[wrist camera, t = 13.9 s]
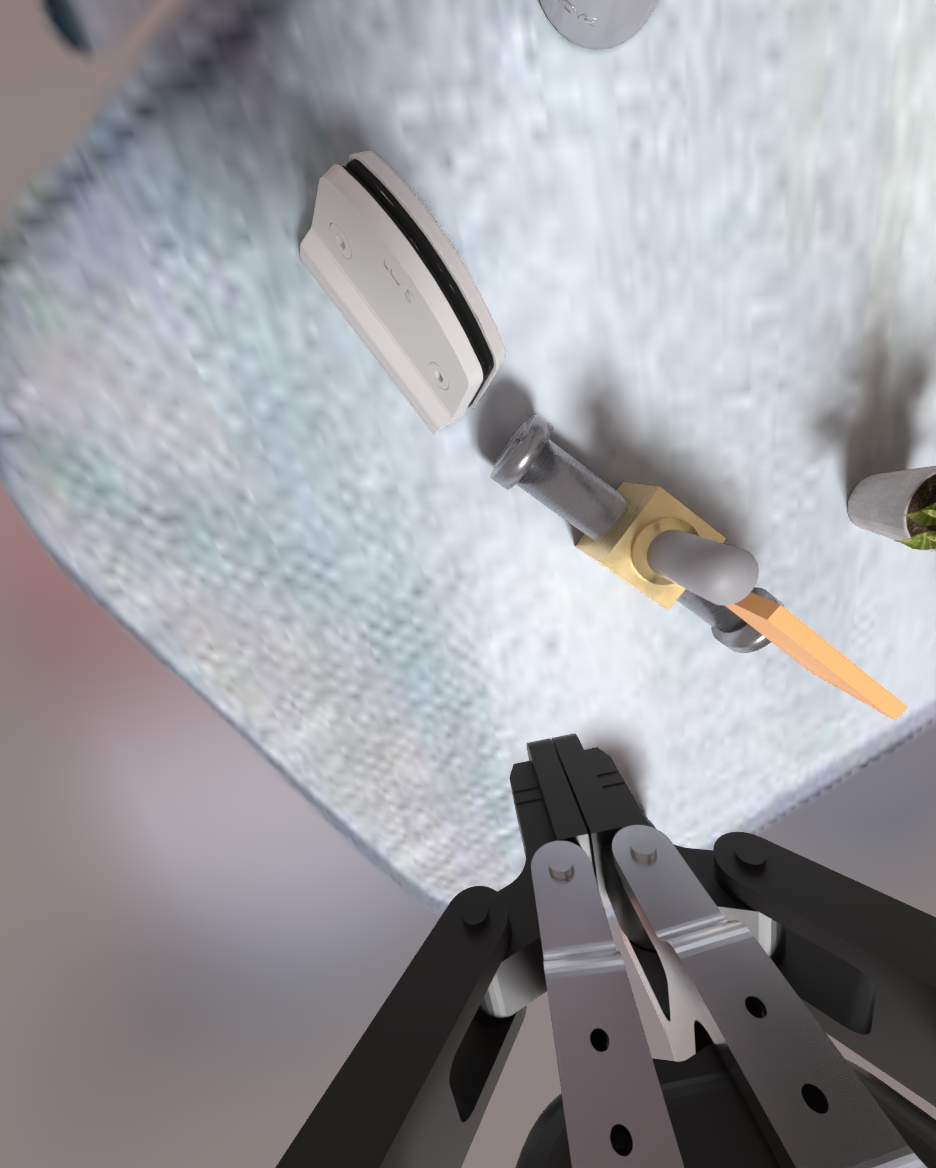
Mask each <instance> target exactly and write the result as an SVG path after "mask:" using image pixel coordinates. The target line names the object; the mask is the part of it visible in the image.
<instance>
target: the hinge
mask: <svg viewBox="0 0 936 1168" xmlns="http://www.w3.org/2000/svg"><path fill="white" fill-rule="evenodd" d="M300 260H301V261H302V263H303V264H304V265H305V266H306V268H307V269H308V270H309V272H310V273H311V274H312V276H313V277H314V278H315V280H316V281H317V282H318V284H319V285H320V286H321V287H322V289H323V290H324V291H325V293H326V294H327V295H328V297H329V298H330V299H331V301H332V302H333V303H334V305H335V306H336V307H337V309H338V310H339V311H340V312H341V314H342V315H343V316H344V318H345V319H346V320H347V322H348V323H349V324H350V326H351V327H352V328H353V330H354V331H355V332H356V333H357V335H358V336H359V337H360V339H361V340H362V341H363V343H364V344H365V345H366V347H367V348H368V349H369V351H370V352H371V353H372V355H373V356H374V357H375V358H376V360H377V361H378V362H379V364H380V365H381V366H382V368H383V369H384V370H385V372H386V373H387V374H388V376H389V377H390V378H391V379H392V381H393V382H394V383H395V385H396V386H397V387H398V389H399V390H400V391H401V393H402V394H403V395H404V397H405V398H406V399H407V400H408V402H409V403H410V404H411V406H412V407H413V408H414V410H415V411H416V412H417V414H418V415H419V416H420V418H421V419H422V420H423V422H424V423H425V424H426V425H427V427H428V428H429V429H430V431H431V432H432V433H433V435H434V434H436V433H438V432H439V431H440V430H441V429H442V428H443V427H445V426H447V425H449V424H451V423H453V422H454V421H456V420H458V419H460V418H462V416H463V414H464V412H465V411H466V409H467V407H469V406H471V407H472V408H474V407H475V405H476V404H477V403H478V401H479V400H480V399H481V397H482V396H483V394H484V392H485V391H486V389H487V387H488V386H489V384H490V383H491V381H492V379H493V378H494V376H495V374H496V373H497V371H498V369H499V368H500V366H501V364H502V363H503V361H504V360H505V357H506V350H505V346H504V344H503V341H502V339H501V337H500V334H499V332H498V329H497V327H496V325H495V323H494V321H493V318H492V316H491V314H490V312H489V310H488V308H487V306H486V304H485V302H484V300H483V298H482V296H481V294H480V292H479V290H478V289H477V287H476V285H475V283H474V281H473V279H472V277H471V276H470V274H469V272H468V270H467V269H466V267H465V266H464V264H463V262H462V261H461V259H460V257H459V256H458V254H457V253H456V251H455V249H454V248H453V246H452V245H451V243H450V241H449V240H448V238H447V237H446V236H445V234H444V233H443V231H442V230H441V228H440V227H439V226H438V224H437V223H436V221H435V220H434V219H433V217H432V216H431V215H430V213H429V212H428V211H427V209H426V208H425V207H424V206H423V204H422V203H421V202H420V201H419V199H418V198H417V197H416V196H415V194H414V193H413V192H412V191H411V190H410V188H409V187H408V186H407V185H406V184H405V183H404V182H403V180H402V179H401V178H400V177H399V176H398V175H397V174H396V173H395V172H394V171H393V170H392V169H391V168H390V167H389V166H388V165H387V164H386V163H385V162H384V161H383V160H382V159H381V158H380V157H378V156H377V155H376V154H375V153H374V152H373V151H370V150H368V151H363V152H358V153H353V154H351V155H350V156H349V159H348V163H347V165H346V167H345V166H341V165H339V164H334V165H333V166H332V167H331V168H330V169H329V170H328V171H327V172H326V173H325V174H324V175H323V176H322V177H321V178H320V179H319V184H318V190H317V197H316V203H315V209H314V215H313V221H312V226H311V228H310V230H309V231H308V233H307V234H306V236H305V237H304V239H303V241H302V242H301V244H300Z"/></svg>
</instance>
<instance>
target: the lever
mask: <svg viewBox="0 0 936 1168" xmlns="http://www.w3.org/2000/svg"><path fill="white" fill-rule="evenodd" d="M647 561H648V564H649V566H650V568H651V569H652V571H654V572H655V573H656V574H658V575H660V576H662V577H664V578H666V579H668V580H670V581H671V582H673V583H675V584H677V585H679V586H681V587H683V588H685V589H687V590H689V591H691V592H693V593H695V594H696V595H698V596H700V597H702V598H704V599H706V600H708V601H710V602H712V603H714V604H717V605H723V606H726V607H727V608H728V609H730V610H731V611H732V612H734V613H735V614H736V615H737V616H739V617H740V618H741V619H743V620H744V621H745V622H747V623H748V624H749V625H750V626H752V627H753V628H754V629H756V630H757V631H758V632H759V633H761V634H762V635H763V636H765V637H766V638H767V639H769V640H770V641H771V642H772V643H774V644H775V645H776V646H778V647H779V648H780V649H781V650H783V651H784V652H785V653H787V654H788V655H789V656H791V657H792V658H793V659H794V660H796V661H797V662H798V663H800V664H801V665H802V666H803V667H805V668H806V669H807V670H809V671H810V672H811V673H813V674H814V675H816V676H818V677H820V678H821V679H823V680H825V681H827V682H828V683H830V684H832V685H834V686H835V687H837V688H839V689H841V690H842V691H844V692H846V693H848V694H849V695H851V696H853V697H855V698H856V699H858V700H860V701H862V702H863V703H865V704H867V705H869V706H870V707H872V708H874V709H876V710H878V711H879V712H881V713H883V714H885V715H886V716H888V717H890V718H892V719H893V720H896V719H897V718H898V717H899V716H900V715H901V714H902V713H903V712H904V711H905V710H906V709H907V708H908V707H907V706H906V705H905V704H904V703H902V702H901V701H900V700H899V699H897V698H896V697H895V696H894V695H892V694H891V693H890V692H889V691H887V690H886V689H885V688H884V687H882V686H881V685H880V684H879V683H877V682H876V681H875V680H874V679H872V678H871V677H870V676H869V675H867V674H866V673H865V672H864V671H862V670H861V669H860V668H859V667H857V666H856V665H855V664H854V663H852V662H851V661H850V660H849V659H848V658H846V657H845V656H844V655H843V654H841V653H840V652H839V651H838V650H836V649H835V648H834V647H833V646H831V645H830V644H829V643H828V642H826V641H825V640H824V639H823V638H821V637H820V636H819V635H818V634H816V633H815V632H814V631H813V630H811V629H810V628H809V627H808V626H806V625H805V624H804V623H803V622H801V621H800V620H799V619H798V618H796V617H795V616H794V615H793V614H791V613H790V612H789V611H788V610H787V609H785V608H784V607H783V606H782V605H780V604H778V603H775V602H773V601H770V600H768V599H766V598H763V597H761V596H759V595H756V594H754V593H751V591H752V590H753V588H754V586H755V584H756V582H757V579H758V564H757V562H756V560H755V558H754V557H753V555H752V554H751V553H749V552H748V551H746V550H744V549H741V548H738V547H734V546H731V545H728V544H724V543H721V542H717V541H714V540H710V539H707V538H704V537H700V536H697V535H693V534H690V533H687V532H683V531H680V530H667V531H664V532H662V533H660V534H659V535H657V536H656V537H655V538H654V539H653V540H652V542H651V543H650V545H649V548H648V551H647Z"/></svg>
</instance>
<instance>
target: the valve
mask: <svg viewBox="0 0 936 1168" xmlns="http://www.w3.org/2000/svg"><path fill="white" fill-rule="evenodd" d="M552 430H553V426H552V425H551V424H550V423H548V422H547V421H546V420H544V419H543V418H542V417H541V416H539V415H538V414H537V413H535V414H533V415H532V416H531V417H530V418H529V419H528V420H527V421H525V422H524V423H523V424H522V425H521V426H520V427H519V428H518V429H517V430H516V432H515V433H514V434H513V436H512V437H511V438H510V440H509V441H508V442H507V444H506V445H505V447H504V448H503V450H502V451H501V453H500V455H499V456H498V458H497V460H496V462H495V464H494V466H493V468H494V470H493V472H492V474H491V478H492V479H493V480H494V481H496V482H497V483H499V484H500V485H501V486H503V487H504V488H506V489H507V490H508V489H510V488H512V487H513V486H514V485H515V484H516V485H518V486H519V487H520V488H522V489H523V490H525V491H526V492H527V493H529V494H530V495H532V496H533V497H534V498H536V499H537V500H538V501H540V502H541V503H543V504H544V505H545V506H547V507H548V508H550V509H551V510H552V511H554V512H555V513H556V514H558V515H559V516H561V517H562V518H563V519H565V520H566V521H568V522H569V523H570V524H572V525H573V526H574V527H576V528H577V529H579V530H580V531H581V532H583V533H584V535H583V536H582V537H581V539H580V540H579V542H578V543H577V544H576V546H575V547H577V548H578V549H579V550H581V551H582V552H584V553H585V554H586V555H588V556H589V557H591V558H592V559H593V560H595V561H596V562H598V563H599V564H600V565H602V566H603V567H605V568H606V569H607V570H609V571H610V572H612V573H613V574H615V575H616V576H617V577H619V578H620V579H622V580H623V581H624V582H626V583H627V584H629V585H630V586H631V587H633V588H634V589H636V590H638V591H639V592H641V593H642V594H644V595H645V596H647V597H648V598H650V599H651V600H653V601H654V602H656V603H658V604H659V605H661V606H662V607H664V608H665V609H667V610H669V609H670V608H671V606H672V605H673V604H674V603H675V601H676V600H677V601H678V602H680V603H681V604H683V605H684V606H685V607H687V608H688V609H690V610H691V611H692V612H694V613H695V614H696V615H698V616H699V617H701V618H702V619H703V620H705V621H706V622H708V623H709V624H710V625H712V633H713V635H714V637H715V638H716V639H717V640H718V641H720V642H721V643H722V644H724V645H725V646H727V647H728V648H729V649H731V650H733V651H735V652H739V653H749V652H753V651H756V650H759V649H761V648H763V647H765V646H766V645H768V644H769V643H770V642H771V641H770V640H769V639H767V638H766V637H765V636H763V635H762V634H761V633H759V632H758V631H757V630H756V629H754V628H753V627H752V626H750V625H749V624H748V623H747V622H745V621H744V620H743V619H741V618H740V617H739V616H737V615H736V614H735V613H734V612H732V611H731V610H730V609H728V608H727V607H726V606H723V605H717V604H714V603H712V602H710V601H708V600H706V599H704V598H702V597H700V596H698V595H696V594H695V593H693V592H691V591H689V590H687V589H685V588H683V587H681V586H679V585H677V584H675V583H673V582H671V581H670V580H668V579H666V578H664V577H662V576H660V575H658V574H656V573H655V572H654V571H652V569H651V568H650V566H649V564H648V561H647V551H648V548H649V545H650V543H651V542H652V540H653V539H654V538H655V537H656V536H657V535H659V534H660V533H662V532H664V531H667V530H680V531H683V532H687V533H690V534H693V535H697V536H700V537H704V538H707V539H710V540H714V541H717V542H721V543H724V541H725V540H726V538H725V537H724V536H723V535H721V534H720V533H719V532H717V531H716V530H715V529H714V528H712V527H711V526H710V525H709V524H707V523H706V522H705V521H703V520H702V519H701V518H700V517H698V516H697V515H696V514H695V513H693V512H692V511H691V510H689V509H688V508H687V507H686V506H684V505H683V504H682V503H681V502H679V501H678V500H677V499H675V498H674V497H673V496H672V495H670V494H669V493H668V492H667V491H665V490H664V489H663V488H661V487H659V486H651V485H643V484H635V483H626V482H622V484H621V485H620V486H619V488H618V489H617V490H615V489H614V488H613V487H611V486H610V485H609V484H607V483H606V482H605V481H603V480H602V479H601V478H599V477H598V476H597V475H596V474H594V473H593V472H592V471H590V470H589V469H588V468H586V467H585V466H584V465H582V464H581V463H580V462H578V461H577V460H576V459H575V458H573V457H572V456H571V455H569V454H568V453H567V452H565V451H564V450H563V449H561V448H560V447H559V446H557V445H556V444H555V443H554V442H552V441H551V440H550V439H549V437H550V435H551V433H552ZM751 593H754V594H756V595H759V596H761V597H763V598H766V599H768V600H770V601H773V602H775V603H778V604H780V605H782V606H783V607H784V605H783V604H782V603H781V602H780V601H779V600H778V599H777V598H775V597H774V596H773V595H771V594H770V593H769V592H767V591H766V590H764V589H762V588H753V590H752V591H751ZM784 608H785V607H784Z"/></svg>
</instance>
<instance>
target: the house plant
mask: <svg viewBox="0 0 936 1168" xmlns="http://www.w3.org/2000/svg"><path fill="white" fill-rule="evenodd" d="M847 509H848V515H849V517H850V520H851V521H852V522H853V523H854V524H855V525H856V526H858V527H860V528H862V529H865V530H868V531H871V532H874V533H876V534H879V535H882V536H885V537H888V538H890V539H893V540H896V541H897V542H901V543H903V544H905V545H907V546H909V547H911V548H913V549H919V550H926V551H936V466H931V467H924V468H916V469H909V470H901V471H894V472H886V473H879V474H873V475H871V476H868V477H866V478H865V479H863V480H862V481H861V482H860V483H859V484H858V485H857V486H856V487H855V488H854V490H853V491H852V493H851V495H850V498H849V501H848V508H847Z"/></svg>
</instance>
